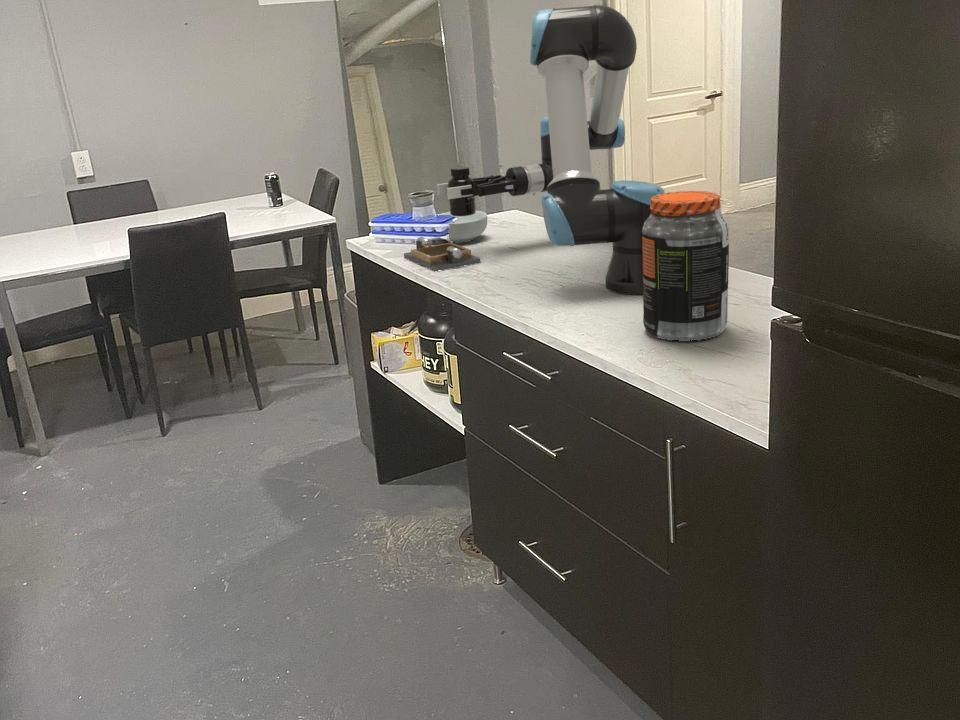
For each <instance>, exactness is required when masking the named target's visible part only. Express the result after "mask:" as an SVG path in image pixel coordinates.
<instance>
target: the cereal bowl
mask: <svg viewBox="0 0 960 720" xmlns="http://www.w3.org/2000/svg"><path fill="white" fill-rule="evenodd" d="M436 215H438V216H439V215H451V214H450V211H447V212H442V213H438V214H436ZM451 216H452V215H451ZM454 217H456V218H457V221H456V223H448V224H449V225H450V228H449V230H448V233H449V239H450V240H451V241H453V242H465V243H468V242H467V241H469V242H472V241H474V239H475V238H477V237H479V236H480V235H482V234H484V232H485V231H486V228H487V226H488V214H487V213H486V212H485V211H481V210H476V212H475V214H473V215H469V216H454ZM471 240H472V241H471Z"/></svg>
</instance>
